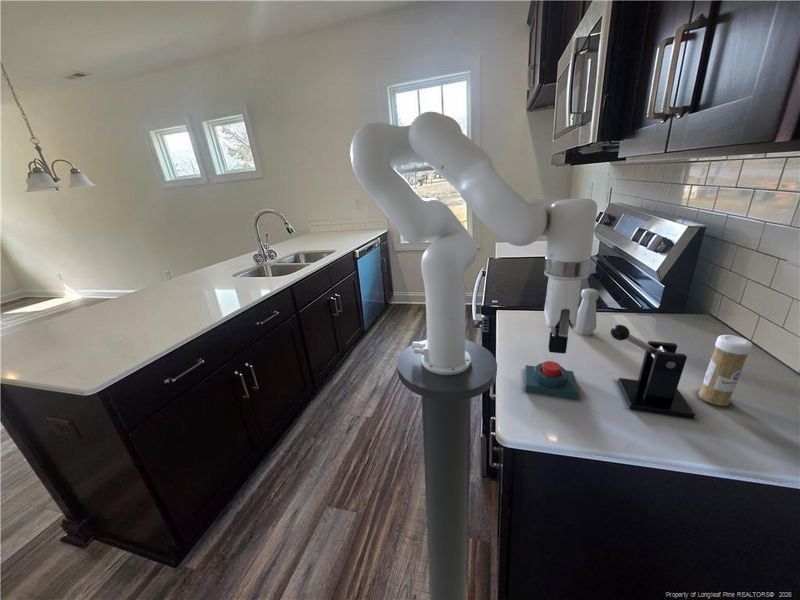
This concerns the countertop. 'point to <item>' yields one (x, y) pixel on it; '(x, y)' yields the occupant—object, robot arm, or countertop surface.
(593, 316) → the salt shaker
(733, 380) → the sprinkles bottle
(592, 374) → the countertop surface
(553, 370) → the stop button
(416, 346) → the robot arm
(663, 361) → the switch bracket
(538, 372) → the stop block
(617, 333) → the switch lever
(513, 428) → the countertop surface
